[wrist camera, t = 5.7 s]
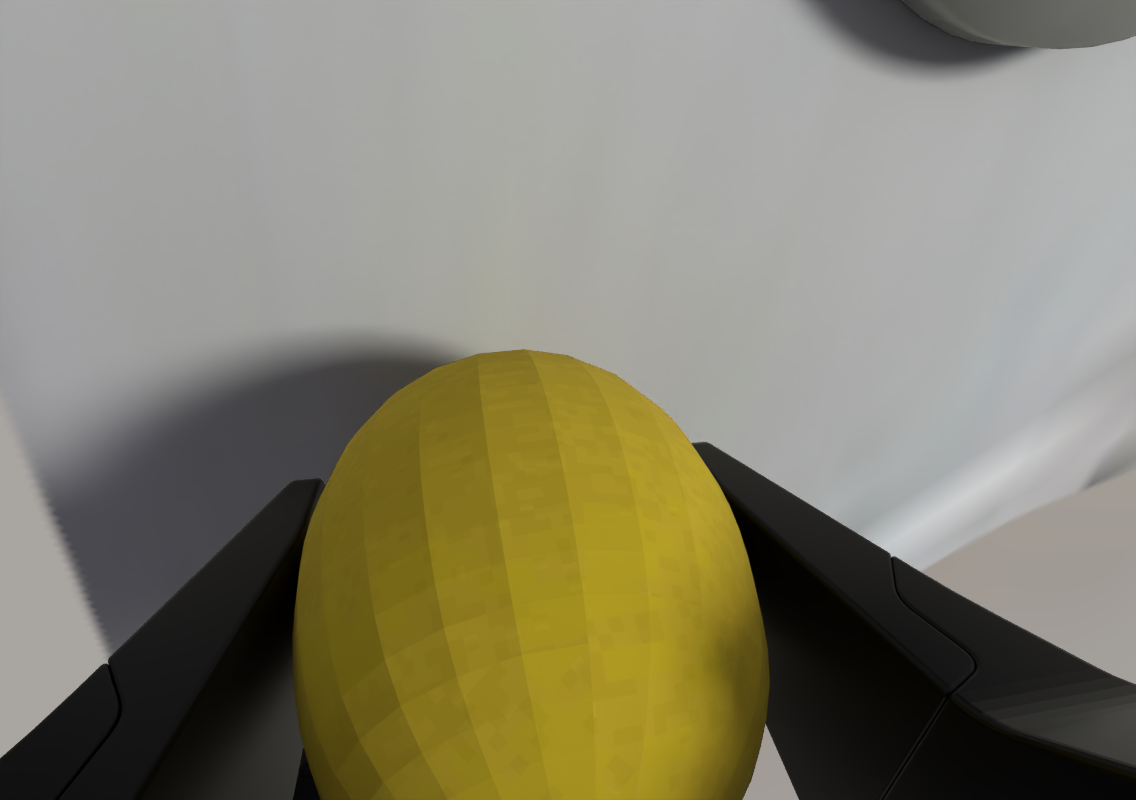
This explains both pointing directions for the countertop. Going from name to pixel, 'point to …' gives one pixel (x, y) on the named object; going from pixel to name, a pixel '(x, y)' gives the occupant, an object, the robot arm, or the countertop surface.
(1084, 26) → the coaster
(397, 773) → the lemon
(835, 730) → the robot arm
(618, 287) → the countertop surface
